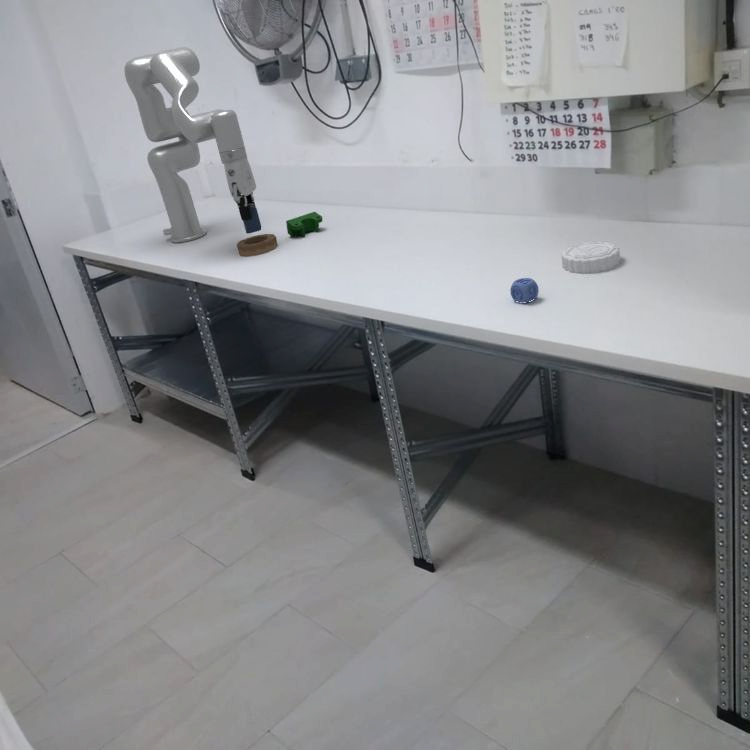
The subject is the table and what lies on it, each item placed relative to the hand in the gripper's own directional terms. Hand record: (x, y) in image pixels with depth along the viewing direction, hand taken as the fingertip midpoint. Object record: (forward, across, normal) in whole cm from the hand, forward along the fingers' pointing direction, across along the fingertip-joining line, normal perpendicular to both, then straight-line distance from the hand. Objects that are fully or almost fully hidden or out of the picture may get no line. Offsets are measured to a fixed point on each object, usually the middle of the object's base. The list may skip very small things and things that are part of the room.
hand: (249, 216), depth 220 cm
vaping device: (+5, 0, 0) cm, 5 cm away
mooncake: (+11, -49, -94) cm, 107 cm away
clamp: (+11, +11, -13) cm, 20 cm away
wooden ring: (+10, 0, 0) cm, 10 cm away
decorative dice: (+11, -66, -80) cm, 104 cm away
